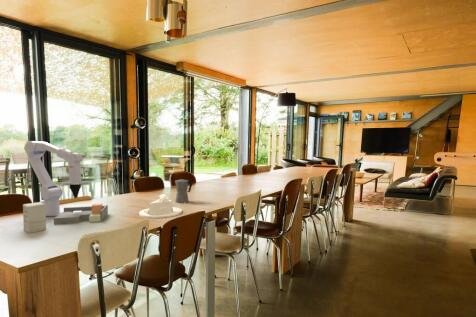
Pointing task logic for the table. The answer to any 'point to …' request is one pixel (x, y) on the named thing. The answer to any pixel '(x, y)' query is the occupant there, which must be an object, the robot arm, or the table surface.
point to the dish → (161, 208)
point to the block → (96, 208)
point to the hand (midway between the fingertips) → (75, 197)
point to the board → (80, 215)
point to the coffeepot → (182, 190)
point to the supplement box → (34, 217)
